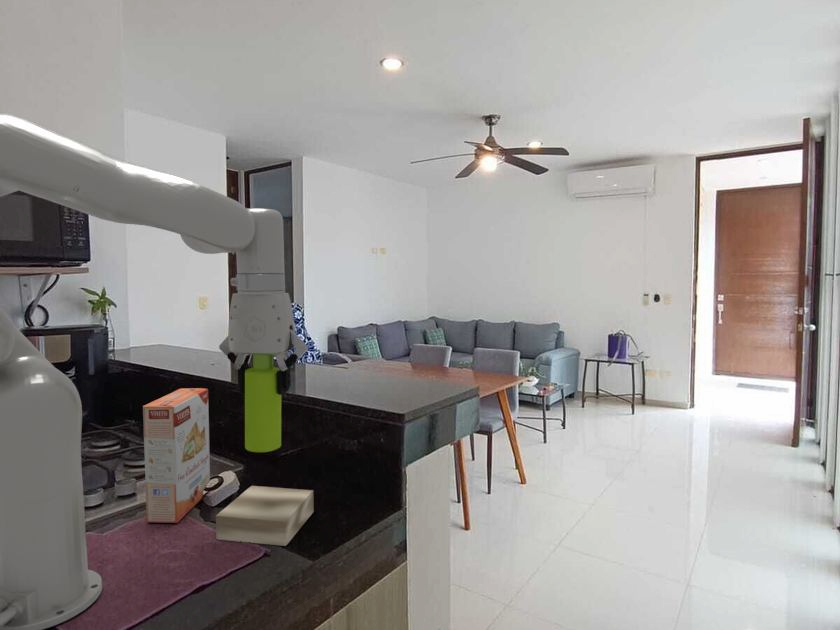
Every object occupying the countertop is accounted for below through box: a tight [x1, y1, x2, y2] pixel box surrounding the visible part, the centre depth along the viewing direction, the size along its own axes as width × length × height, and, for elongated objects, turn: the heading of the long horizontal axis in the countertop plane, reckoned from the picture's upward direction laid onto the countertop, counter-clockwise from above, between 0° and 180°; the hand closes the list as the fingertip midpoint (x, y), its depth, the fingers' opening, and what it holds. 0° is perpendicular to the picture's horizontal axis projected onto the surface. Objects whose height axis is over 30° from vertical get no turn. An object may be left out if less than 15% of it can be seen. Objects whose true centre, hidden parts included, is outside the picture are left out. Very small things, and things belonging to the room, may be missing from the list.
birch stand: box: [215, 485, 315, 547], centre depth 91 cm, size 12×12×4 cm
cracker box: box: [142, 387, 211, 524], centre depth 97 cm, size 14×6×21 cm, turn 179°
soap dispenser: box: [244, 354, 282, 453], centre depth 89 cm, size 6×7×20 cm
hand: (264, 391), depth 89 cm, fingers closed on soap dispenser, 6 cm apart
